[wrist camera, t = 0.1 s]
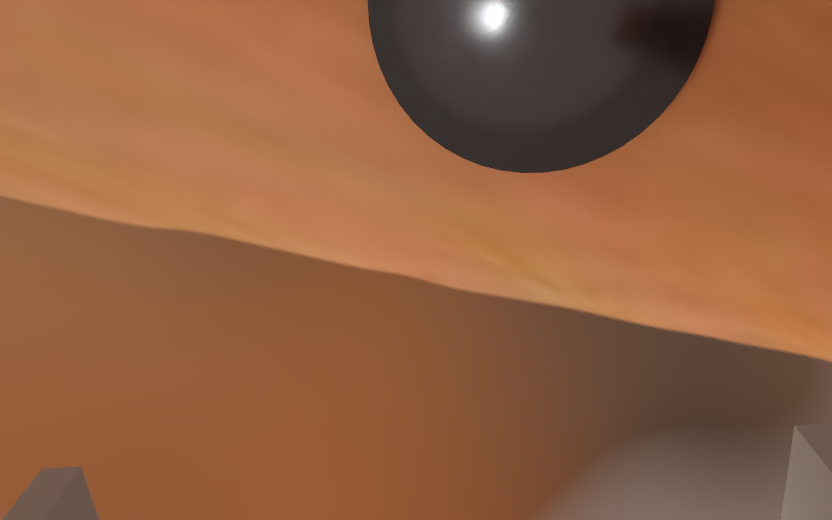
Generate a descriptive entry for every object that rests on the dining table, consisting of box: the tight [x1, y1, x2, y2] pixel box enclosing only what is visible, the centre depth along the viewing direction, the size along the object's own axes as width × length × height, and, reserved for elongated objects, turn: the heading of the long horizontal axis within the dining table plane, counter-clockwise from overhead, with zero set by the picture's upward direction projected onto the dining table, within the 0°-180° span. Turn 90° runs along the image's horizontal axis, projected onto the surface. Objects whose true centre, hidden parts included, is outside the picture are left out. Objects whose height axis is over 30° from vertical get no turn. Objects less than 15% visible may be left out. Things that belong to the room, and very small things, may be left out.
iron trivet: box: [368, 0, 714, 173], centre depth 35 cm, size 17×17×2 cm
